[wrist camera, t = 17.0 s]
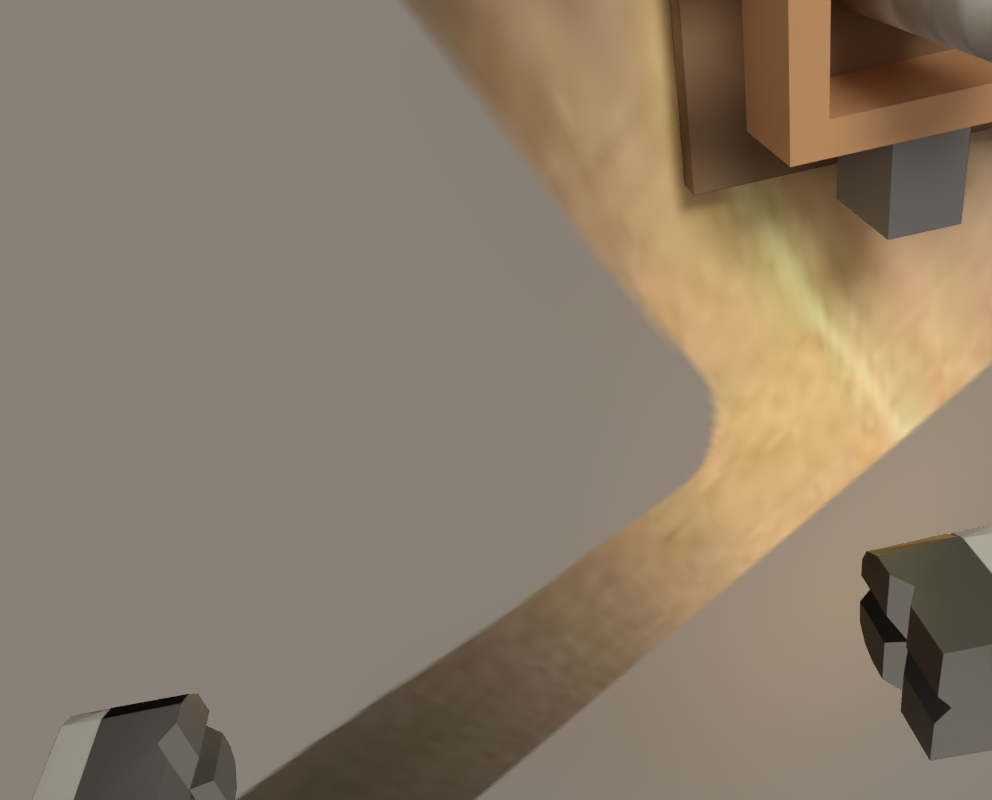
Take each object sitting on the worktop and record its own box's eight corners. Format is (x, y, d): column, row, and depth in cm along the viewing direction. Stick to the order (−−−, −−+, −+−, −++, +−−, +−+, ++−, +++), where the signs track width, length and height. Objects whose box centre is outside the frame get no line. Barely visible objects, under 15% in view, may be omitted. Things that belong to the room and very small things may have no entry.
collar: (735, -167, 32) (786, -169, 27) (1035, -238, 31) (1134, -251, 27) (750, 217, 40) (791, 261, 36) (988, 164, 39) (1059, 202, 35)
